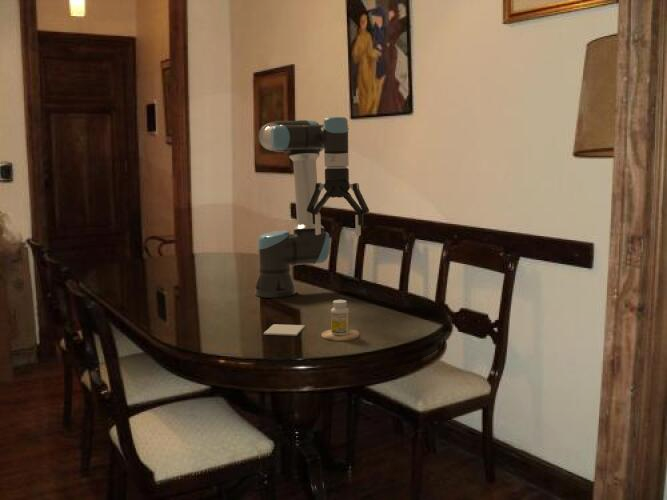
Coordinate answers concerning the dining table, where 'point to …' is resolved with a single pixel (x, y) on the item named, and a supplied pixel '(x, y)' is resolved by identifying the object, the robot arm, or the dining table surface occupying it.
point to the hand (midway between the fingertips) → (337, 235)
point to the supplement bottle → (340, 318)
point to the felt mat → (284, 330)
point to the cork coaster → (329, 336)
